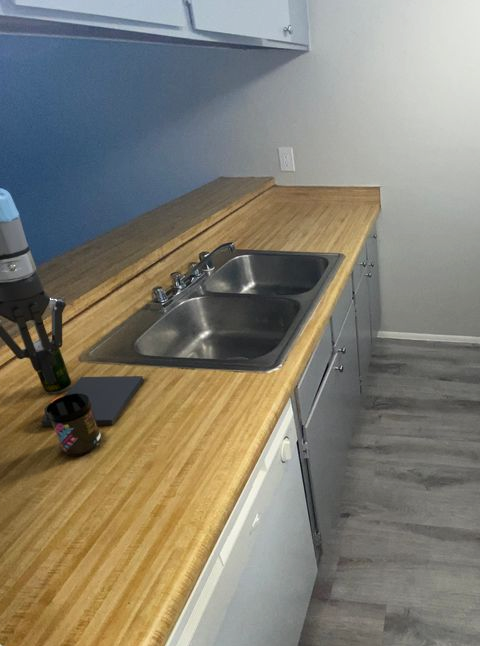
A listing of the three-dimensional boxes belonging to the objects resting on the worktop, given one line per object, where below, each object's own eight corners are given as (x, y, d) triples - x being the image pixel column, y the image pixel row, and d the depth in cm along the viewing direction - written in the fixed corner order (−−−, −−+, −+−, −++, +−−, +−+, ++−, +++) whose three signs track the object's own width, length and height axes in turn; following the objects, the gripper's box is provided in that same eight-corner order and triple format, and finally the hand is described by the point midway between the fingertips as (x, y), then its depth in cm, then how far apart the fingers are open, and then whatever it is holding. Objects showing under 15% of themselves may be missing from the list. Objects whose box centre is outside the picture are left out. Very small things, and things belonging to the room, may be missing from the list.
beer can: (51, 381, 112) (34, 338, 107) (76, 380, 113) (61, 337, 108) (40, 395, 108) (22, 351, 102) (66, 393, 109) (49, 349, 103)
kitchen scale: (42, 426, 99) (37, 415, 97) (82, 381, 113) (79, 371, 112) (112, 425, 100) (109, 414, 99) (143, 380, 114) (140, 370, 113)
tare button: (50, 412, 99) (47, 405, 98) (58, 402, 102) (56, 396, 101) (66, 411, 99) (63, 405, 98) (74, 402, 102) (71, 395, 101)
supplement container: (65, 439, 96) (49, 398, 91) (104, 430, 99) (90, 390, 94) (60, 461, 91) (43, 419, 86) (101, 451, 93) (86, 410, 88)
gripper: (-31, 291, 80) (16, 402, 91) (59, 272, 88) (92, 375, 99) (-38, 277, 84) (7, 385, 95) (48, 261, 93) (80, 361, 104)
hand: (50, 380), depth 97 cm, fingers closed
